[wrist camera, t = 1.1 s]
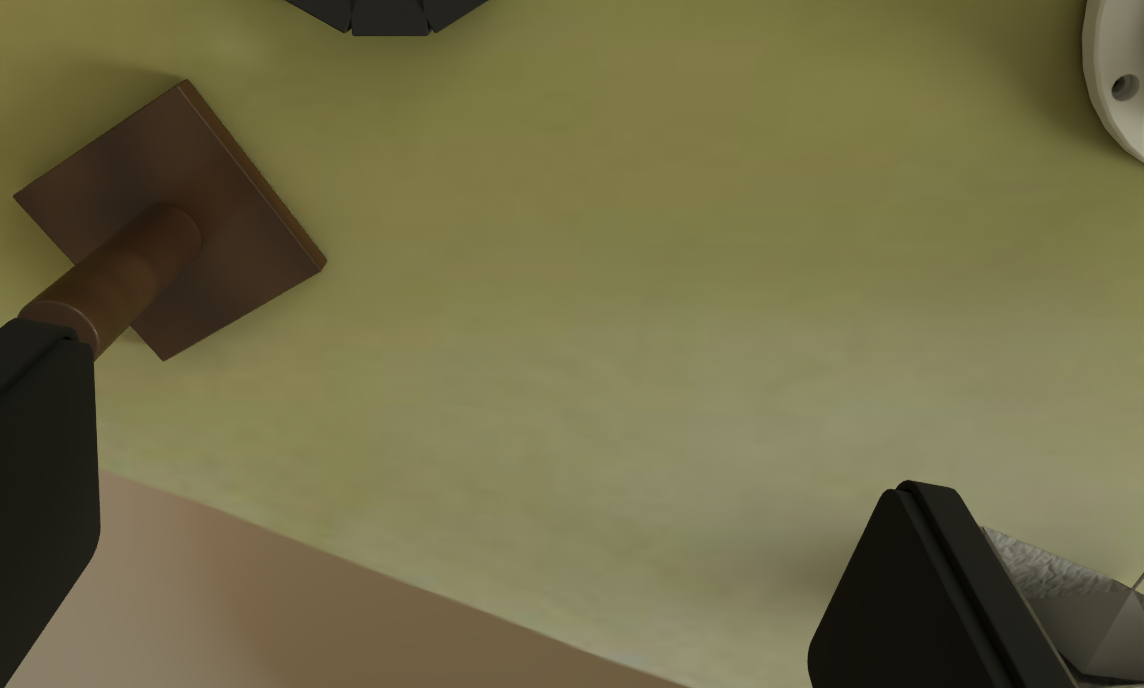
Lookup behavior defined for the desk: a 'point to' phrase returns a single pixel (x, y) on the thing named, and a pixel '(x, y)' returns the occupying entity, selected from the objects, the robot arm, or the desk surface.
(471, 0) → the charcoal ring
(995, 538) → the grey angular piece
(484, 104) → the desk surface
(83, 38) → the desk surface
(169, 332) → the peg stand
